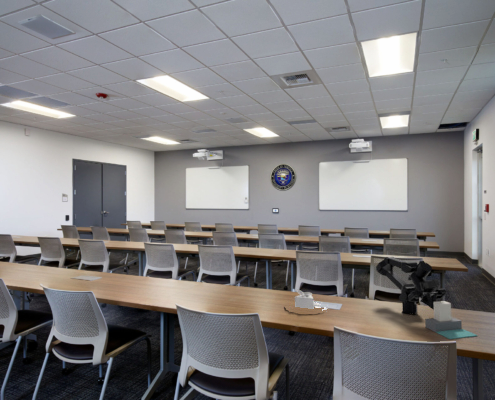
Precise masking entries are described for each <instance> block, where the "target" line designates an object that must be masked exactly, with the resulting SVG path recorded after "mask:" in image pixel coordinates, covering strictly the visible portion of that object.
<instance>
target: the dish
mask: <svg viewBox="0 0 495 400" xmlns="http://www.w3.org/2000/svg"><path fill="white" fill-rule="evenodd" d="M296 292H297V294H299V295H296V296H294V301H295V307H300V308H308V309H314V307H315V308H321V307H320V305H321V304H319V303H317V302H318V301H317V302H316V303H315V302H314V301H315V299H314V297H313V296H312V295H313V293H312V292H310V291H305V292H303V291H302V290H300V289H297V290H296ZM327 309H328V310H329V307H328V308H326V307H324V309H322V311H323V310H327Z"/></svg>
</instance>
